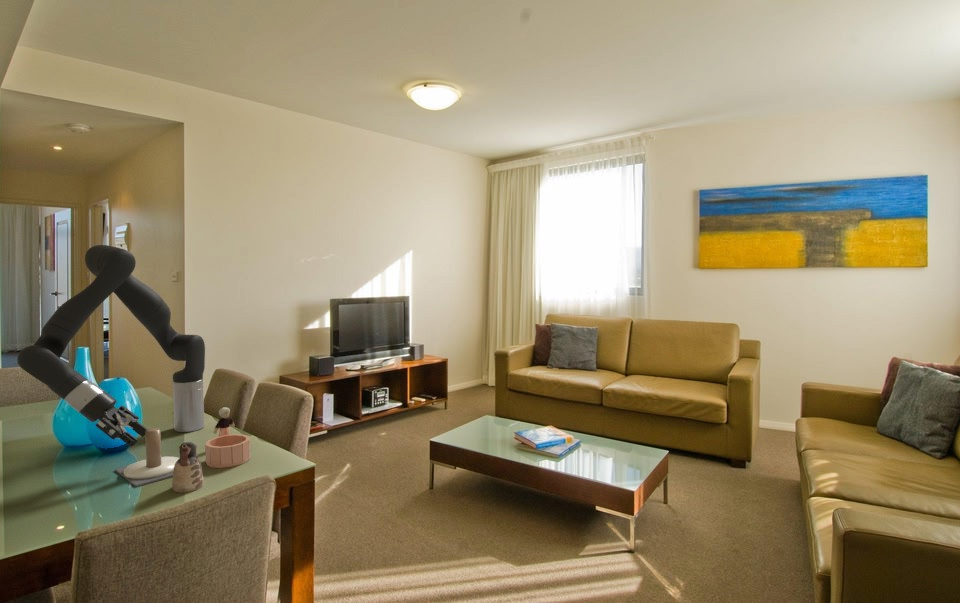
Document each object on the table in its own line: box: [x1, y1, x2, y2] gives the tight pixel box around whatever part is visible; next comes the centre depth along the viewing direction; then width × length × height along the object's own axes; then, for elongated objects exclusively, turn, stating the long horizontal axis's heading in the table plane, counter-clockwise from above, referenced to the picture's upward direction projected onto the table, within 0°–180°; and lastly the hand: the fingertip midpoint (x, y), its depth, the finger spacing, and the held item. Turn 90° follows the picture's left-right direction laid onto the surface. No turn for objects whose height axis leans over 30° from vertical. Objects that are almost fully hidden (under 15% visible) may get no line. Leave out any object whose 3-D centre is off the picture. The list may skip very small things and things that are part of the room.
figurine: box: [171, 441, 205, 494], centre depth 135 cm, size 7×7×12 cm
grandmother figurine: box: [213, 406, 236, 437], centre depth 166 cm, size 8×4×13 cm, turn 168°
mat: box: [114, 454, 173, 488], centre depth 146 cm, size 17×14×1 cm
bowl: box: [204, 433, 251, 469], centre depth 154 cm, size 12×12×6 cm
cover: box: [124, 428, 180, 479], centre depth 146 cm, size 14×14×11 cm
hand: (140, 438), depth 144 cm, fingers open, 8 cm apart
